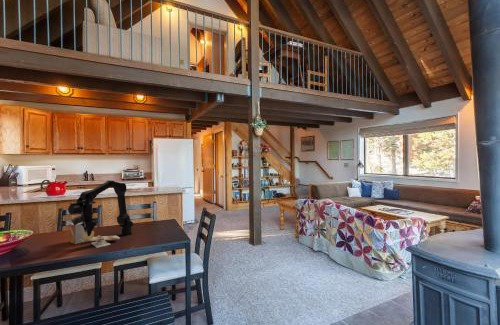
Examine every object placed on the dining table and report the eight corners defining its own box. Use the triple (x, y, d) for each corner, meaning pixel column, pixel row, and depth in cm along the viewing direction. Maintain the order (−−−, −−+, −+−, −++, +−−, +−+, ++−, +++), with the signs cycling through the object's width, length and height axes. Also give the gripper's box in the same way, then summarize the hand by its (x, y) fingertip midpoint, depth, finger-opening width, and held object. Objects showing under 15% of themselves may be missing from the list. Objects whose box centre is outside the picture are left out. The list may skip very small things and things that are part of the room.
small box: (69, 242, 172) (68, 223, 172) (79, 239, 178) (78, 221, 178) (75, 244, 168) (75, 225, 168) (85, 241, 174) (85, 222, 174)
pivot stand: (104, 240, 175) (104, 233, 175) (110, 244, 166) (110, 237, 166) (91, 243, 169) (91, 236, 169) (96, 247, 161) (96, 240, 161)
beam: (116, 237, 178) (116, 235, 178) (119, 239, 173) (119, 237, 173) (79, 239, 162) (80, 237, 162) (82, 241, 157) (83, 239, 157)
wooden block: (90, 237, 166) (92, 230, 166) (93, 238, 162) (94, 231, 163) (82, 237, 162) (83, 230, 163) (84, 239, 159) (85, 232, 159)
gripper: (69, 211, 163) (69, 235, 163) (76, 215, 150) (76, 241, 150) (88, 208, 171) (89, 231, 171) (97, 212, 158) (97, 237, 158)
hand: (87, 235), depth 162 cm, fingers closed on wooden block, 5 cm apart
